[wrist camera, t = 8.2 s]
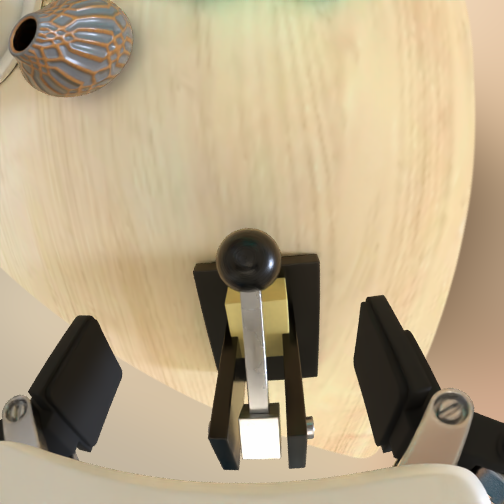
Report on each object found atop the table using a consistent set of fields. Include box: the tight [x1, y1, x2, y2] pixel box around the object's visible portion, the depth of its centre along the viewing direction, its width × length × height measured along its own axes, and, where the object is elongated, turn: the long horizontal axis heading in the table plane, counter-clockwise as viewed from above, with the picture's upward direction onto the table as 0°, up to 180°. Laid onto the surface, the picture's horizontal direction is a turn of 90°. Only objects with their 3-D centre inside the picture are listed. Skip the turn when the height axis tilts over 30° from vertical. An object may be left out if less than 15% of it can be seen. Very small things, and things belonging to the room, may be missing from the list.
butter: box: [225, 278, 289, 358], centre depth 22 cm, size 5×4×3 cm
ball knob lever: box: [216, 228, 282, 459], centre depth 16 cm, size 13×4×4 cm
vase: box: [8, 0, 133, 97], centre depth 12 cm, size 7×7×9 cm
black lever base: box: [193, 254, 320, 470], centre depth 19 cm, size 12×9×12 cm
